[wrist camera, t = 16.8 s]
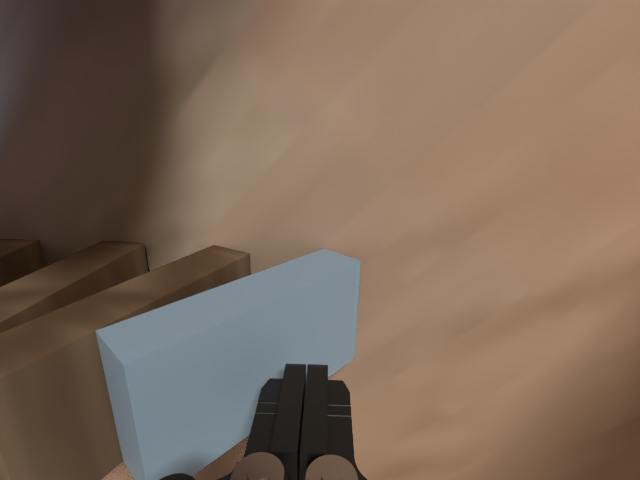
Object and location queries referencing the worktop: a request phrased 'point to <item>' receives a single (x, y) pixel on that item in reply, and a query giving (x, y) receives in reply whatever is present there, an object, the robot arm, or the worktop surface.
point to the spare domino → (222, 359)
